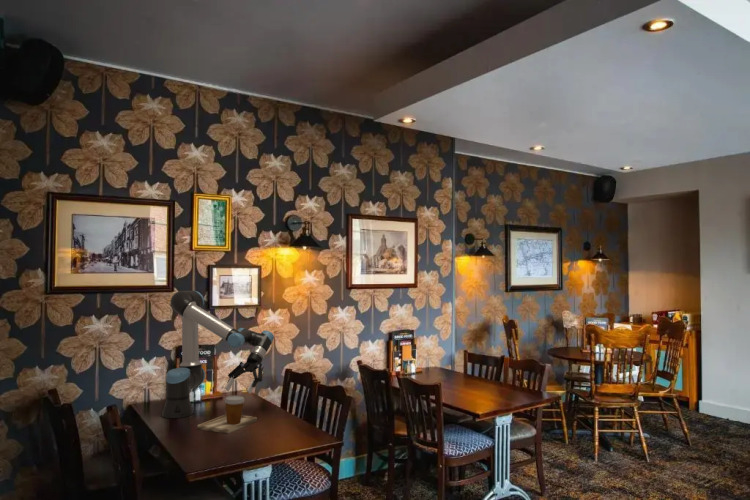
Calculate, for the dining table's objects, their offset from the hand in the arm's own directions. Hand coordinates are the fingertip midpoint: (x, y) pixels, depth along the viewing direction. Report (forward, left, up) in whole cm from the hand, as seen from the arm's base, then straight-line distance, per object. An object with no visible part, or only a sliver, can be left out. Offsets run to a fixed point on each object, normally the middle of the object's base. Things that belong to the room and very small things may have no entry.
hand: (237, 390), depth 258 cm
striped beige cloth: (0, -7, -15) cm, 17 cm away
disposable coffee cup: (+3, -7, -14) cm, 16 cm away
